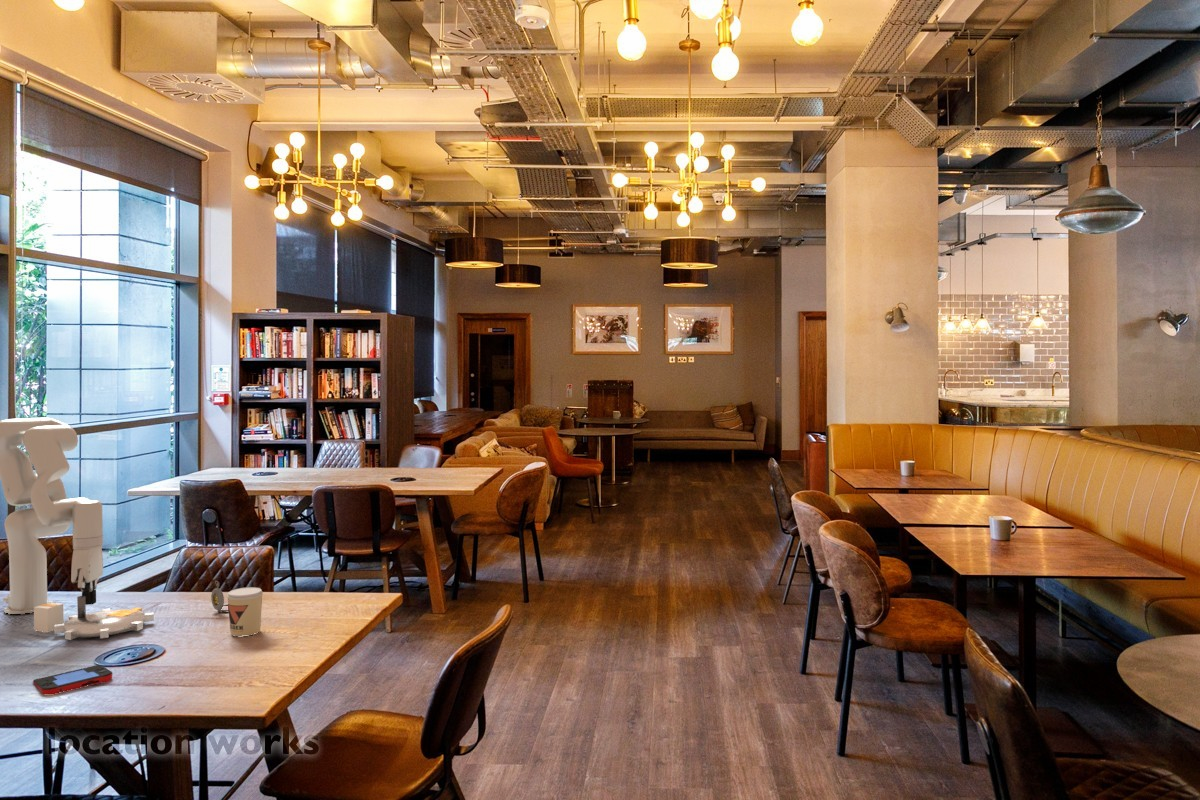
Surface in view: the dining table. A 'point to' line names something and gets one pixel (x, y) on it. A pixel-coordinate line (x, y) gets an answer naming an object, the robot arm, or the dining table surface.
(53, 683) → the game console
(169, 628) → the dining table surface
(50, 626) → the link block
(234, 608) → the coffee cup
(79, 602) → the sprocket
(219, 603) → the pocket watch
